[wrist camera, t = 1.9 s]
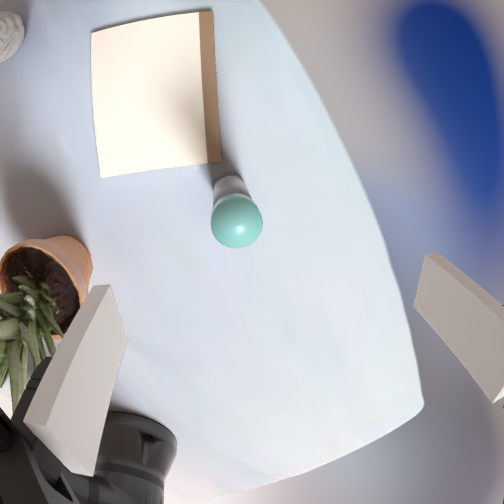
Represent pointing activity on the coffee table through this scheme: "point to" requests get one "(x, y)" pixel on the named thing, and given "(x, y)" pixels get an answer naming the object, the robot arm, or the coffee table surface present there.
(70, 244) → the potted plant
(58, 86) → the coffee table surface
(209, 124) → the notepad
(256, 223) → the marker
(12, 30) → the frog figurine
